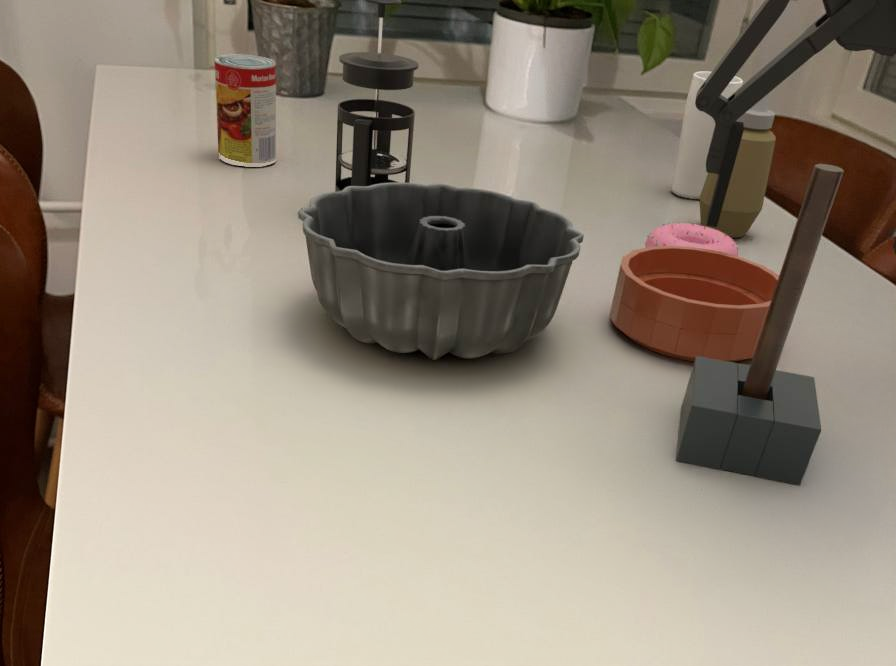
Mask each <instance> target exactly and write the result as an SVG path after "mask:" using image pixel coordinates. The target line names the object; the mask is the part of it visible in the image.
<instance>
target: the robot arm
mask: <svg viewBox="0 0 896 666" xmlns="http://www.w3.org/2000/svg"><path fill="white" fill-rule="evenodd" d="M790 1H791V0H764V1H763V2H762V3H761V5H760V6H759V7H758V9H757V10H756V12H754V14H753V16H752V17H751V19H750V20H749V21H748V22H747V24H746V25H745V26H744V28H742V31H741V32H739V35H738V36H737V37H736V39H735V40H734V41H733V43H732V44H731V45H730V47H728V49H727V51H726V52H725V53H724V55H723V56H722V57H721V59H720V60H719V62H718V63H717V64H716V66H715V67H713V70H712V71H710V72H711V74H710V75H709V76H708V78H707V79H706V80H705V82H704V83H703V84H702V86H701V87H700V89H699V90H698V92H697V95H696V101H695V105H696V108H697V109H698V110H699V111H703V112H705V113H706V114H708V115H710V116H711V117H712V118H713V119H714V121H715V128H714V132H713V135H712V139H711V143H710V147H709V151H708V155H707V159H706V172H708V173H714V174H718V178H717V182H716V185H715V189H714V193H713V196H712V200H711V204H710V208H709V211H708V215H707V226H712V227H717V225H718V221H719V218H720V214H721V210H722V207H723V203H724V200H725V196H726V192H727V189H728V185H729V182H730V178H731V174H732V171H733V167H734V164H735V160H736V156H737V153H738V149H739V146H740V142H741V138H742V135H743V131H744V122H739V121H736V120H737V119H739V118H740V117H741V116H742V115H743V114H744V113H746V112H747V111H748V110H749V109H750V108H752V107H753V106H754V105H755V104H756V103H758V102H759V101H760V100H761V99H762V98H764V97H765V96H766V95H767V94H768V93H769V94H770V93H771V92H772V91H773V90H774V89H775V88H777V87H778V86H779V85H781V83H783V82H784V81H785V80H786V79H787V78H788V77H790V76H791V75H792V74H794V73H795V72H796V71H797V70H799V68H801V67H802V66H803V65H804V64H806V63H807V62H808V61H809V60H810V59H811V58H813V57H814V56H815V55H817V54H818V53H820V52H821V51H823V50H824V49H825V48H826V47H828V46H829V45H830V44H831V43H832V42H834V41H835V42H836V43H837V45H839V46H840V47H841V48H843V50H844V51H851V52H862V51H868V50H869V51H873V52H874V53H877V54H879V55H880V56H885V57H894V56H895V55H896V0H822V4H823V8H824V11H825V13H823V14H822V15H821V16H820V17H819V18H818V19H816V20H815V21H814V22H813V23H812V24H811V25H809V26H808V27H807V28H806V29H805V30H804V32H803V33H801V34H800V35H799V36H798V37H797V38H795V40H794V41H793V42H791V43H789V45H788V46H786V47H785V48H784V49H783V50H782V51H781V52H779V53H778V54H777V55H776V56H775V57H773V58H772V59H771V60H770V61H769V62H768V63H766V65H764V66H763V67H762V68H761V69H760V70H759V71H758V72H756V73H755V74H754V75H753V76H752V77H750V78H749V79H748V80H747V81H745V83H743V84H742V86H741V87H740V88H739V89H738V90H737V91H736V92H734V93H733V94H732V95H731V96H730V97H729V98H725V97H724V96H722V95H721V93H722V92H723V91H724V89H725V88H726V87H727V86H728V84H729V83H730V82H731V80H732V79H733V78H734V76H736V75H737V74H738V73H739V71H740V70H741V68H742V67H743V66H744V65H745V63H746V62H747V61H748V59H749V58H750V57H751V56H752V54H754V53H753V52H754V51H755V50H756V49H757V47H758V46H759V45H760V44H761V42H762V41H763V40H764V38H765V37H766V36H767V34H768V33H769V32H770V30H771V29H772V28H773V26H774V25H775V24H776V22H777V21H778V20H779V18H780V17H781V16H782V15H783V13H784V12H785V10H786V8H787V6H788V4H789V3H790ZM792 1H794V2H796V1H797V0H792ZM892 249H893V251H894V254H895V255H896V238H895V240H894V242H893V244H892Z"/></svg>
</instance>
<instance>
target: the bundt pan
mask: <svg viewBox="0 0 896 666" xmlns="http://www.w3.org/2000/svg"><path fill="white" fill-rule="evenodd" d="M308 205H309V206H307V207H304V208H300V209H299V210H298V211H297V212H298V213H297V215H298V219H299V220H300V221H302V232H303V235H304V236H305V242H306V249H307V256H308V262H309V268H310V270H309V271H310V276H311V280H312V284H313V286H314V290H315V291H316V294H317V297H318V301H319V304H320V305H321V307H322V309H323V311H324V312H325V313H326V315H327V316H328V317H329V318H330V319H331V320H332V321H333V322H335V323H336V324H337V325H339V326H340V327H342V328H344V329H346V331H347V333H349V335H350V336H351V337H352V338H353V339H354V340H357V341H359V342H361V343H363V344H376V343H377V344H379V345H380V346H381V347H382V348H384V349H386V350H388V351H390V352H393V353H398V354H408V353H409V354H410V353H414V352H416V351H419V350H420V351H421V352H422V353H423V354H424V355H426V356H427V357H428V358H429V359H430V360H432V361H436V360H438V359H439V358H441V357H443V356H445V355H446V354H448V353H450V354H452V355H453V356H455V357H457V358H461V359H477V358H481V357H483V356H485V355H488V354H490V353H492V354H498V355H499V354H501V355H505V354H509V353H512V352H515V351H516V350H518V349H519V348H520V347H522V346H523V344H524V343H525V342H527V341H529V340H531V339H534V338H535V337H537V336H538V335H539V334H541V333H542V332H543V331H544V330H545V329H546V328H547V327H548V326H549V324H551V321H552V319H553V318H554V317H555V314H556V311H557V309H558V306H559V303H560V300H561V297H562V295H563V292H564V289H565V286H566V283H567V279H568V276H569V274H570V271H571V267H572V264H573V261H575V260H576V259H578V257H579V256H580V252H581V245H580V244H582V242H583V241H584V237H585V234H584V233H582V232H580V231H578V230H576V229H574V227H573V223H572V221H571V220H570V219H569V218H567V216H564V215H562V214H560V213H558V212H555V211H553V210H551V209H546V208H542V207H540V205H539V204H538V203H537V202H535V201H530V200H525V199H519V198H514V197H512V196H510V195H507V194H505V193H501V192H498V191H493V190H488V189H483V188H473V187H458V186H455V185H450V184H447V183H446V184H445V183H430V184H423V183H414V182H409V183H405V182H401V181H397V182H391V183H380V184H374V185H371V186H348V187H345V188H344V189H343V190H342V191H337V192H335V191H331V192H325V193H321V194H319V195H316V196H314V197H313V198H311V199H310V201H309V204H308Z"/></svg>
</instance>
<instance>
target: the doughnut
mask: <svg viewBox="0 0 896 666" xmlns="http://www.w3.org/2000/svg"><path fill="white" fill-rule="evenodd" d="M654 246H684V247H694V248H695V247H696V248H702V249H707V250H713V251H720V252H723V253H727V254H731V255H735V256H738V257H739V254H740V253H739V251H740V248H739V247H738V244H736V242H735V240H734V239H733V238H732V237H729V235H726V234H724V233H722V232H720V231H718V230H715V229H712V228H709V227H705V226H701V223H700V224H697V223H692V222H690V223H685V222H683V223H681V222H676V223H675V222H673V223H670V222H667V224H664V223H663V224H662V225H660V226H658V227H656V228H653V230H652V231H651V232H650V233H649V234H648V235H647V238H646V240H645V242H644V248H646V247H654Z"/></svg>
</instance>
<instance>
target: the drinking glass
mask: <svg viewBox="0 0 896 666" xmlns="http://www.w3.org/2000/svg"><path fill="white" fill-rule="evenodd" d="M711 72H712V71H706V70H705V71H702V70H701V71H696V72H693V74H692V78H691V81H690V85H689V89H688V93H687V98H686V101H685V106H684V111H683V118H682V124H681V130H680V137H679V145H678V150H677V155H676V161H675V167H674V173H673V178H672V182H671V187H670V190H671V192H672V194H674V195H675V194H676V196H677V195H678V196H677V197H680V196H681V197H680V198H683V197H684V198H683V199H687V198H689V199H688V200H700V194H701V191H702V188H703V186H704V183H705V180H706V177H707V174H708V172H706V159H707V155H708V151H709V147H710V143H711V139H712V135H713V132H714V128H715V121H714V119H713V118H712V117H711V116H710V115H708V114H706V113H705V112H703V111H699V110H698V109H697V108H696V105H695V101H696V95H697V92H698V90H699V89H700V87H701V86H702V84H703V83H704V82H705V80H706V79H707V78H708V76H709V75H710V74H711ZM742 85H744V80H743V79H742V78H741V77H739V76H736V75H735V76H734V78H733V79H732V80H731V82H730V83H729V84H728V86H727V87H726V88H725V89H724V91H723V92H722V93H721V95H722V96H724V97H725V98H729V97H730V96H731V95H732V94H733V93H734V92H736V91H737V90H738V89H739V88H740V87H741V86H742Z"/></svg>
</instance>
